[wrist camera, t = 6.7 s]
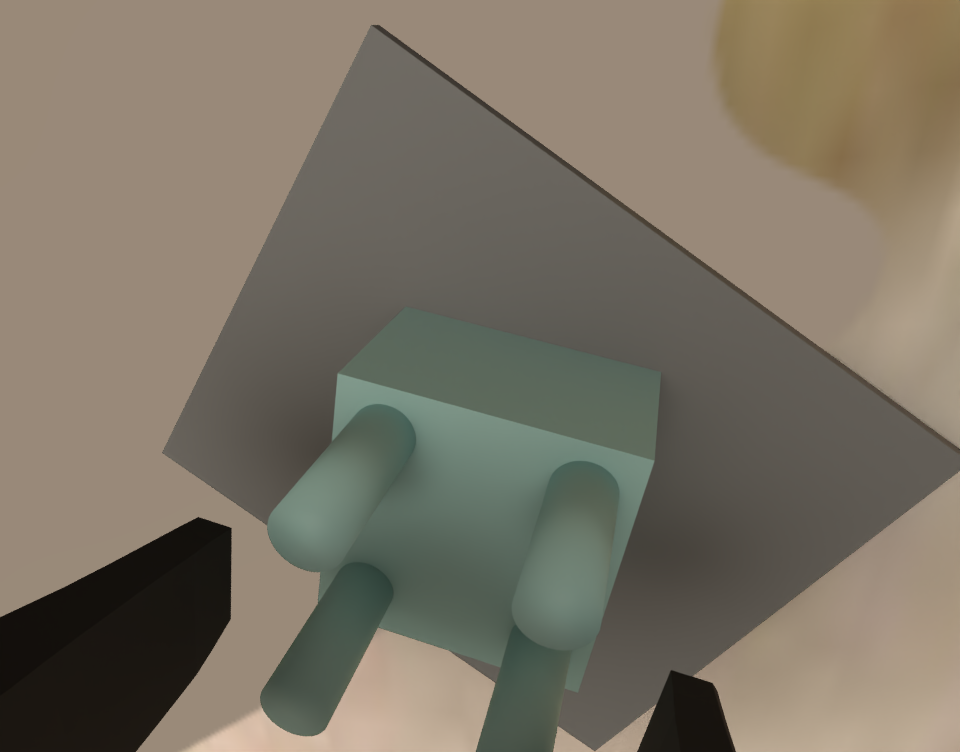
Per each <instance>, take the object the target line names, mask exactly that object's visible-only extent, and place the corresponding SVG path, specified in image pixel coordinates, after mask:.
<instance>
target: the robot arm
mask: <svg viewBox="0 0 960 752" xmlns="http://www.w3.org/2000/svg"><path fill="white" fill-rule="evenodd" d="M230 619H231V528H230V527H227V526H224V525H220V524H218V523H215V522H211V521H209V520H205V519H202V518H199V517H198V518H196V519H194V520H192V521H190V522H188V523H186V524H184V525H182V526H180V527H178V528H176V529H174V530H173V531H171V532H169V533H167V534H165V535H163V536H161V537H159V538H158V539H156V540H154V541H152V542H150V543H148V544H146V545H144V546H143V547H141V548H139V549H137V550H135V551H133V552H131V553H129V554H128V555H126V556H124V557H122V558H120V559H118V560H116V561H114V562H113V563H111V564H109V565H107V566H105V567H103V568H101V569H99V570H97V571H95V572H93V573H91V574H89V575H87V576H85V577H83V578H81V579H79V580H77V581H76V582H74V583H72V584H70V585H68V586H66V587H64V588H62V589H60V590H57V591H55V592H53V593H51V594H49V595H47V596H45V597H42V598H40V599H38V600H36V601H34V602H32V603H30V604H28V605H26V606H23V607H21V608H19V609H17V610H15V611H13V612H11V613H8V614H6V615H4V616H2V617H0V752H136V751H137V750H138V748H139V747H140V746H141V745H142V743H143V742H144V741H145V740H146V738H147V737H148V736H149V735H150V733H151V732H152V731H153V729H154V728H155V727H156V726H157V725H158V723H159V722H160V721H161V719H162V718H163V717H164V716H165V714H166V713H167V712H168V711H169V709H170V708H171V707H172V706H173V704H174V703H175V702H176V700H177V699H178V698H179V697H180V695H181V694H182V693H183V692H184V690H185V689H186V688H187V686H188V685H189V684H190V682H191V681H192V680H193V679H194V677H195V676H196V674H197V673H198V671H199V670H200V668H201V667H202V665H203V664H204V662H205V660H206V659H207V657H208V656H209V654H210V653H211V651H212V649H213V648H214V646H215V644H216V643H217V641H218V639H219V638H220V636H221V634H222V633H223V631H224V629H225V628H226V626H227V624H228V623H229V621H230ZM637 752H736V751H735V748H734V745H733V742H732V739H731V735H730V732H729V729H728V726H727V723H726V720H725V716H724V713H723V710H722V706H721V703H720V699H719V696H718V692H717V690H716V688H715V687H714V685H713V683H710V682H707V681H704V680H701V679H698V678H695V677H692V676H689V675H686V674H682V673H679V672H676V671H673V670H671V671H670V673H669V676H668V678H667V681H666V683H665V685H664V688H663V690H662V693H661V695H660V698H659V700H658V703H657V705H656V707H655V710H654V712H653V715H652V717H651V720H650V722H649V725H648V727H647V729H646V732H645V734H644V737H643V739H642V742H641V744H640V747H639V749H638V751H637Z"/></svg>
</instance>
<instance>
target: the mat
mask: <svg viewBox="0 0 960 752" xmlns="http://www.w3.org/2000/svg"><path fill="white" fill-rule="evenodd" d="M405 307H410V308H414V309H418V310H421V311H425V312H429V313H433V314H437V315H441V316H445V317H449V318H453V319H456V320H460V321H464V322H468V323H472V324H476V325H480V326H484V327H487V328H491V329H495V330H499V331H503V332H507V333H511V334H515V335H519V336H522V337H526V338H530V339H534V340H538V341H542V342H546V343H550V344H554V345H557V346H561V347H565V348H569V349H573V350H577V351H581V352H585V353H589V354H592V355H596V356H600V357H604V358H608V359H612V360H616V361H620V362H624V363H627V364H631V365H635V366H639V367H643V368H647V369H651V370H655V371H659V372H661V381H660V394H659V408H658V421H657V435H656V449H655V461H654V464H653V467H652V470H651V473H650V476H649V479H648V482H647V485H646V488H645V491H644V494H643V497H642V500H641V503H640V506H639V509H638V512H637V515H636V518H635V522H634V525H633V528H632V531H631V534H630V537H629V540H628V543H627V546H626V549H625V552H624V555H623V558H622V561H621V564H620V567H619V570H618V573H617V576H616V579H615V582H614V585H613V588H612V591H611V594H610V597H609V600H608V603H607V606H606V609H605V612H604V615H603V618H602V622H601V628H600V631H599V633H598V635H597V636H596V639H595V643H594V646H593V649H592V652H591V655H590V658H589V661H588V664H587V667H586V670H585V673H584V676H583V679H582V682H581V685H580V688H579V691H578V693H577V692H574V691H571V690H568V689H564V695H563V700H562V705H561V711H560V716H559V722H558V726H559V727H561V728H562V729H563V730H565V731H566V732H568V733H569V734H571V735H572V736H574V737H575V738H576V739H578V740H579V741H581V742H582V743H584V744H585V745H587V746H588V747H590V748H591V749H592V750H594V751H595V750H597V749H598V748H599V747H601V746H602V745H603V744H605V743H606V742H607V741H608V740H610V739H611V738H612V737H614V736H615V735H616V734H618V733H619V732H620V731H622V730H623V729H624V728H625V727H627V726H628V725H629V724H631V723H632V722H633V721H635V720H636V719H637V718H638V717H640V716H641V715H642V714H644V713H645V712H646V711H648V710H649V709H650V708H651V707H653V706H654V705H655V704H657V703H658V700H659V698H660V695H661V693H662V690H663V688H664V685H665V683H666V681H667V678H668V676H669V673H670V671H671V670H673V671H676V672H679V673H682V674H686V675H689V676H693V675H694V674H696V673H697V672H698V671H700V670H701V669H702V668H704V667H705V666H706V665H707V664H709V663H710V662H711V661H713V660H714V659H715V658H717V657H718V656H719V655H720V654H722V653H723V652H724V651H726V650H727V649H728V648H730V647H731V646H732V645H733V644H735V643H736V642H737V641H739V640H740V639H741V638H743V637H744V636H745V635H746V634H748V633H749V632H750V631H752V630H753V629H754V628H756V627H757V626H758V625H760V624H761V623H762V622H763V621H765V620H766V619H767V618H769V617H770V616H771V615H773V614H774V613H775V612H776V611H778V610H779V609H780V608H782V607H783V606H784V605H786V604H787V603H788V602H789V601H791V600H792V599H793V598H795V597H796V596H797V595H799V594H800V593H801V592H802V591H804V590H805V589H806V588H808V587H809V586H810V585H812V584H813V583H814V582H815V581H817V580H818V579H819V578H821V577H822V576H823V575H825V574H826V573H827V572H829V571H830V570H831V569H832V568H834V567H835V566H836V565H838V564H839V563H840V562H842V561H843V560H844V559H845V558H847V557H848V556H849V555H851V554H852V553H853V552H855V551H856V550H857V549H858V548H860V547H861V546H862V545H864V544H865V543H866V542H868V541H869V540H870V539H871V538H873V537H874V536H875V535H877V534H878V533H879V532H881V531H882V530H883V529H884V528H886V527H887V526H888V525H890V524H891V523H892V522H894V521H895V520H896V519H898V518H899V517H900V516H901V515H903V514H904V513H905V512H907V511H908V510H909V509H911V508H912V507H913V506H914V505H916V504H917V503H918V502H920V501H921V500H922V499H924V498H925V497H926V496H927V495H929V494H930V493H931V492H933V491H934V490H935V489H937V488H938V487H939V486H940V485H942V484H943V483H944V482H946V481H947V480H948V479H950V478H951V477H952V476H953V475H955V474H956V473H957V472H959V471H960V449H958V448H957V447H955V446H954V445H953V444H951V443H950V442H949V441H947V440H946V439H945V438H943V437H942V436H940V435H939V434H938V433H936V432H935V431H934V430H932V429H931V428H930V427H928V426H927V425H925V424H924V423H923V422H921V421H920V420H919V419H917V418H916V417H914V416H913V415H912V414H910V413H909V412H908V411H906V410H905V409H904V408H902V407H901V406H899V405H898V404H897V403H895V402H894V401H893V400H891V399H890V398H888V397H887V396H886V395H884V394H883V393H882V392H880V391H879V390H878V389H876V388H875V387H873V386H872V385H871V384H869V383H868V382H867V381H865V380H864V379H862V378H861V377H860V376H858V375H857V374H856V373H854V372H853V371H852V370H850V369H849V368H847V367H846V366H845V365H843V364H842V363H841V362H839V361H838V360H836V359H835V358H834V357H832V356H831V355H830V354H828V353H827V352H826V351H824V350H823V349H821V348H820V347H819V346H817V345H816V344H814V343H813V342H812V341H810V340H809V339H808V338H806V337H805V336H804V335H802V334H801V333H799V332H798V331H797V330H795V329H794V328H793V327H791V326H790V325H789V324H787V323H786V322H784V321H783V320H782V319H780V318H779V317H778V316H776V315H775V314H774V313H772V312H771V311H769V310H768V309H766V308H765V307H764V306H763V305H761V304H760V303H758V302H757V301H756V300H754V299H753V298H752V297H750V296H749V295H747V294H746V293H745V292H743V291H742V290H741V289H739V288H738V287H736V286H735V285H734V284H732V283H731V282H730V281H728V280H727V279H726V278H724V277H723V276H721V275H720V274H719V273H717V272H716V271H715V270H713V269H712V268H711V267H709V266H708V265H706V264H705V263H704V262H702V261H701V260H700V259H698V258H697V257H696V256H694V255H692V254H691V253H690V252H689V251H687V250H686V249H685V248H683V247H682V246H680V245H679V244H678V243H676V242H675V241H674V240H672V239H671V238H669V237H668V236H667V235H665V234H664V233H663V232H661V231H660V230H659V229H657V228H656V227H654V226H653V225H652V224H650V223H649V222H648V221H646V220H645V219H644V218H642V217H641V216H639V215H638V214H637V213H635V212H634V211H633V210H631V209H630V208H628V207H627V206H626V205H624V204H623V203H622V202H620V201H619V200H618V199H616V198H615V197H613V196H612V195H611V194H609V193H608V192H607V191H605V190H604V189H603V188H601V187H600V186H598V185H597V184H596V183H594V182H593V181H592V180H590V179H589V178H587V177H586V176H585V175H583V174H582V173H581V172H579V171H578V170H576V169H575V168H574V167H572V166H571V165H570V164H568V163H567V162H566V161H564V160H563V159H561V158H560V157H559V156H557V155H556V154H554V153H553V152H552V151H551V150H549V149H548V148H546V147H545V146H544V145H542V144H541V143H540V142H538V141H537V140H535V139H534V138H533V137H531V136H530V135H529V134H527V133H526V132H524V131H523V130H522V129H520V128H519V127H518V126H516V125H515V124H514V123H512V122H511V121H509V120H508V119H507V118H505V117H504V116H503V115H501V114H500V113H499V112H497V111H496V110H494V109H493V108H492V107H490V106H489V105H488V104H486V103H485V102H483V101H482V100H481V99H479V98H478V97H477V96H475V95H474V94H473V93H471V92H470V91H468V90H467V89H466V88H464V87H463V86H462V85H460V84H459V83H457V82H456V81H454V80H453V79H452V78H450V77H449V76H448V75H447V74H445V73H444V72H442V71H441V70H440V69H438V68H437V67H436V66H434V65H433V64H431V63H430V62H429V61H427V60H426V59H425V58H423V57H422V56H421V55H419V54H418V53H416V52H415V51H414V50H412V49H411V48H409V47H408V46H407V45H405V44H404V43H402V42H401V41H400V40H398V39H397V38H396V37H394V36H393V35H392V34H390V33H389V32H388V31H386V30H385V29H384V28H382V27H381V26H379V25H371V27H370V29H369V31H368V33H367V35H366V37H365V39H364V41H363V43H362V45H361V47H360V49H359V51H358V53H357V55H356V57H355V59H354V61H353V64H352V66H351V67H350V70H349V72H348V74H347V76H346V78H345V80H344V82H343V84H342V86H341V88H340V90H339V92H338V94H337V96H336V98H335V100H334V102H333V104H332V106H331V108H330V110H329V113H328V115H327V117H326V119H325V121H324V123H323V125H322V127H321V129H320V131H319V133H318V135H317V137H316V139H315V141H314V143H313V145H312V147H311V149H310V151H309V154H308V155H307V158H306V160H305V162H304V164H303V166H302V168H301V170H300V172H299V174H298V176H297V178H296V180H295V182H294V184H293V186H292V188H291V190H290V192H289V194H288V196H287V199H286V201H285V203H284V205H283V207H282V209H281V211H280V213H279V215H278V217H277V219H276V221H275V223H274V225H273V227H272V229H271V231H270V233H269V235H268V237H267V239H266V242H265V244H264V245H263V247H262V250H261V252H260V254H259V256H258V258H257V260H256V262H255V264H254V266H253V268H252V270H251V272H250V274H249V276H248V278H247V280H246V283H245V284H244V286H243V288H242V290H241V292H240V295H239V297H238V299H237V301H236V303H235V305H234V307H233V309H232V311H231V313H230V315H229V317H228V319H227V321H226V323H225V325H224V327H223V330H222V331H221V333H220V336H219V338H218V340H217V342H216V344H215V346H214V348H213V350H212V352H211V354H210V356H209V358H208V360H207V362H206V364H205V366H204V368H203V370H202V372H201V374H200V376H199V378H198V380H197V382H196V385H195V387H194V389H193V391H192V393H191V395H190V397H189V399H188V401H187V403H186V405H185V407H184V409H183V411H182V413H181V415H180V417H179V419H178V421H177V423H176V425H175V427H174V430H173V432H172V434H171V436H170V438H169V440H168V442H167V444H166V446H165V448H164V450H163V452H162V453H163V454H165V455H166V456H168V457H169V458H171V459H172V460H173V461H175V462H176V463H178V464H179V465H181V466H182V467H184V468H185V469H186V470H188V471H189V472H191V473H192V474H194V475H195V476H197V477H198V478H200V479H201V480H203V481H204V482H205V483H207V484H208V485H210V486H211V487H212V488H214V489H215V490H217V491H219V492H220V493H221V494H223V495H224V496H226V497H227V498H229V499H230V500H231V501H233V502H234V503H236V504H237V505H239V506H240V507H242V508H243V509H244V510H246V511H248V512H249V513H250V514H252V515H253V516H255V517H256V518H257V519H259V520H260V521H262V522H263V523H265V524H266V525H267V524H268V519H269V516H270V514H271V513H272V511H273V510H274V509H275V508H276V506H277V505H278V504H279V503H280V502H281V501H282V499H283V498H284V497H285V496H286V495H287V494H288V492H289V491H290V490H291V489H292V488H293V487H294V485H295V484H296V483H297V482H298V481H299V480H300V479H301V477H302V476H303V475H304V474H305V473H306V472H307V470H308V469H309V468H310V467H311V466H312V465H313V463H314V462H315V461H316V460H317V459H318V458H319V456H320V455H321V454H322V453H323V452H324V451H325V450H326V448H327V447H328V446H329V445H330V444H331V443H332V433H333V422H334V410H335V398H336V387H337V375H338V373H339V372H340V371H341V370H342V369H343V368H344V367H345V366H346V365H347V364H348V363H349V362H350V361H351V360H352V359H353V358H354V357H355V356H356V355H357V354H358V353H359V352H360V351H361V350H362V349H363V348H364V347H365V346H366V345H367V344H368V343H369V342H370V341H371V340H372V339H373V338H374V337H375V336H376V335H377V334H378V333H379V332H380V331H381V330H382V329H383V328H384V327H385V326H386V325H387V324H388V323H389V322H390V321H391V320H392V319H394V318H395V317H396V316H397V315H398V314H399V313H400V312H401V311H402V310H403V309H404V308H405ZM450 652H452V651H450ZM452 653H453V654H455V655H456V656H458V657H459V658H460V659H462V660H463V661H465V662H466V663H468V664H469V665H471V666H472V667H473V668H475V669H476V670H478V671H479V672H481V673H482V674H484V675H485V676H487V677H488V678H489V679H491V680H492V681H494V682H495V683H496V681H497V677H498V674H499V670H500V667H498V666H495V665H492V664H488V663H485V662H482V661H479V660H476V659H473V658H470V657H467V656H464V655H461V654H458V653H455V652H452Z"/></svg>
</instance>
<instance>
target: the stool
mask: <svg viewBox="0 0 960 752" xmlns="http://www.w3.org/2000/svg"><path fill="white" fill-rule="evenodd" d="M660 381H661V372H659V371H655V370H651V369H647V368H643V367H639V366H635V365H631V364H627V363H624V362H620V361H616V360H612V359H608V358H604V357H600V356H596V355H592V354H589V353H585V352H581V351H577V350H573V349H569V348H565V347H561V346H557V345H554V344H550V343H546V342H542V341H538V340H534V339H530V338H526V337H522V336H519V335H515V334H511V333H507V332H503V331H499V330H495V329H491V328H487V327H484V326H480V325H476V324H472V323H468V322H464V321H460V320H456V319H453V318H449V317H445V316H441V315H437V314H433V313H429V312H425V311H421V310H418V309H414V308H410V307H405V308H404V309H403V310H402V311H401V312H400V313H399V314H398V315H397V316H396V317H395V318H394V319H392V320H391V321H390V322H389V323H388V324H387V325H386V326H385V327H384V328H383V329H382V330H381V331H380V332H379V333H378V334H377V335H376V336H375V337H374V338H373V339H372V340H371V341H370V342H369V343H368V344H367V345H366V346H365V347H364V348H363V349H362V350H361V351H360V352H359V353H358V354H357V355H356V356H355V357H354V358H353V359H352V360H351V361H350V362H349V363H348V364H347V365H346V366H345V367H344V368H343V369H342V370H341V371H340V372H339V373H338V375H337V387H336V398H335V410H334V422H333V433H332V443H331V444H330V445H329V446H328V447H327V448H326V450H325V451H324V452H323V453H322V454H321V455H320V456H319V458H318V459H317V460H316V461H315V462H314V463H313V465H312V466H311V467H310V468H309V469H308V470H307V472H306V473H305V474H304V475H303V476H302V477H301V479H300V480H299V481H298V482H297V483H296V484H295V485H294V487H293V488H292V489H291V490H290V491H289V492H288V494H287V495H286V496H285V497H284V498H283V499H282V501H281V502H280V503H279V504H278V505H277V506H276V508H275V509H274V510H273V511H272V513H271V514H270V516H269V519H268V524H267V530H268V535H269V538H270V540H271V542H272V544H273V546H274V548H275V549H276V551H277V552H278V553H279V554H280V555H281V556H282V557H283V558H284V559H285V560H287V561H288V562H289V563H291V564H292V565H294V566H296V567H298V568H300V569H303V570H306V571H311V572H320V584H319V595H318V605H317V606H316V608H315V609H314V611H313V612H312V614H311V615H310V617H309V618H308V620H307V622H306V623H305V625H304V626H303V628H302V629H301V631H300V633H299V634H298V636H297V637H296V639H295V640H294V642H293V643H292V645H291V647H290V648H289V650H288V651H287V653H286V654H285V656H284V657H283V659H282V660H281V662H280V664H279V665H278V667H277V668H276V670H275V671H274V673H273V675H272V676H271V678H270V679H269V681H268V682H267V684H266V685H265V687H264V688H263V690H262V692H261V696H260V701H261V705H262V708H263V710H264V712H265V713H266V715H267V716H268V717H269V718H270V720H271V721H272V722H274V723H275V724H276V725H277V726H279V727H280V728H282V729H283V730H285V731H287V732H290V733H292V734H295V735H300V736H314V735H317V734H320V733H321V732H323V731H324V730H325V728H326V727H327V725H328V723H329V721H330V719H331V717H332V715H333V713H334V711H335V709H336V707H337V706H338V704H339V702H340V700H341V698H342V696H343V694H344V692H345V690H346V688H347V686H348V684H349V682H350V680H351V678H352V677H353V675H354V673H355V671H356V669H357V667H358V665H359V663H360V661H361V659H362V657H363V655H364V653H365V651H366V649H367V648H368V646H369V644H370V642H371V640H372V638H373V636H374V634H375V632H376V630H377V628H378V627H379V628H382V629H385V630H388V631H391V632H394V633H397V634H400V635H403V636H406V637H409V638H412V639H415V640H418V641H421V642H424V643H427V644H430V645H434V646H437V647H440V648H443V649H446V650H449V651H452V652H455V653H458V654H461V655H464V656H467V657H470V658H473V659H476V660H479V661H482V662H485V663H488V664H492V665H495V666H498V667H500V670H499V674H498V677H497V681H496V684H495V688H494V691H493V694H492V698H491V701H490V705H489V708H488V712H487V715H486V718H485V722H484V725H483V729H482V732H481V736H480V739H479V742H478V746H477V749H476V752H553V749H554V743H555V738H556V733H557V727H558V722H559V716H560V711H561V705H562V700H563V695H564V689H568V690H571V691H574V692H577V693H578V691H579V688H580V685H581V682H582V679H583V676H584V673H585V670H586V667H587V664H588V661H589V658H590V655H591V652H592V649H593V646H594V643H595V639H596V636H597V635H598V633H599V631H600V628H601V622H602V618H603V615H604V612H605V609H606V606H607V603H608V600H609V597H610V594H611V591H612V588H613V585H614V582H615V579H616V576H617V573H618V570H619V567H620V564H621V561H622V558H623V555H624V552H625V549H626V546H627V543H628V540H629V537H630V534H631V531H632V528H633V525H634V522H635V518H636V515H637V512H638V509H639V506H640V503H641V500H642V497H643V494H644V491H645V488H646V485H647V482H648V479H649V476H650V473H651V470H652V467H653V464H654V461H655V449H656V435H657V421H658V408H659V394H660Z"/></svg>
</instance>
